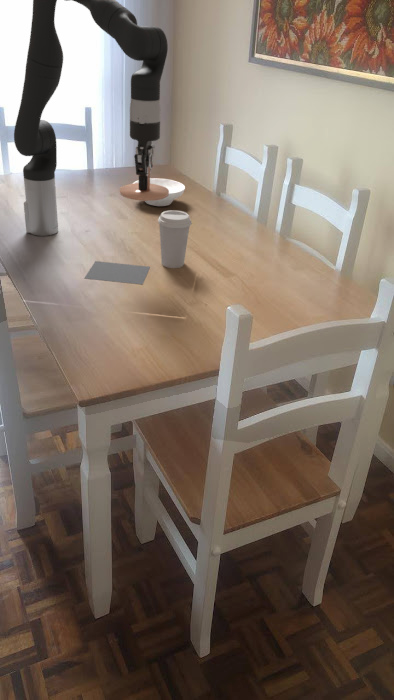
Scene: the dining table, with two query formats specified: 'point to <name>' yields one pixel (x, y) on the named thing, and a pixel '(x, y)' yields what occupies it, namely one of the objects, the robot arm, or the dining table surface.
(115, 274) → the mat
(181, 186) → the bowl
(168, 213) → the coffee cup
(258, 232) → the dining table surface
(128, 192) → the lid
